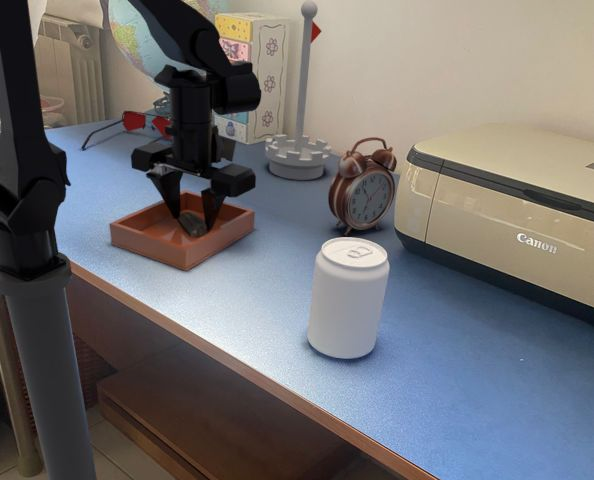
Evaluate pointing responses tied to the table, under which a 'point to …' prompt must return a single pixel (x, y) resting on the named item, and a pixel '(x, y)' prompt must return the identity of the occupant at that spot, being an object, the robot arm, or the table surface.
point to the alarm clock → (363, 187)
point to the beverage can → (347, 297)
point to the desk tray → (179, 232)
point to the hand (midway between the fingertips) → (193, 223)
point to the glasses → (138, 124)
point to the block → (193, 224)
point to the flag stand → (300, 122)
